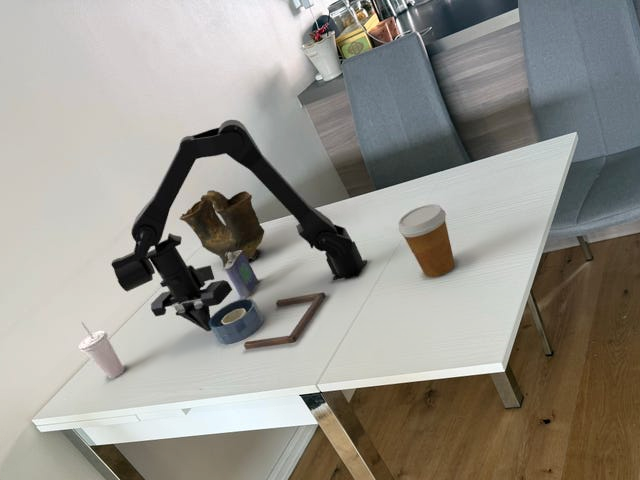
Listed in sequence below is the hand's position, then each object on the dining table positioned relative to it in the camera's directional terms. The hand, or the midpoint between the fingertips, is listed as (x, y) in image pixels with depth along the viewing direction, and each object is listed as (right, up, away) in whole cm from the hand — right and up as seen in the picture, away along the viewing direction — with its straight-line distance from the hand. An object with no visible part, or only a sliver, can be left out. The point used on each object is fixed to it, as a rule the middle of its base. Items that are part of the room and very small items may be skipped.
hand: (210, 330), depth 151 cm
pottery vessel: (+1, +20, +33) cm, 39 cm away
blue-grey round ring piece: (+8, 0, -3) cm, 8 cm away
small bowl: (+7, 0, -3) cm, 8 cm away
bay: (+18, +1, -9) cm, 20 cm away
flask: (+6, +10, +14) cm, 18 cm away
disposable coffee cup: (+49, +11, -14) cm, 53 cm away
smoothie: (-22, -10, +4) cm, 24 cm away
